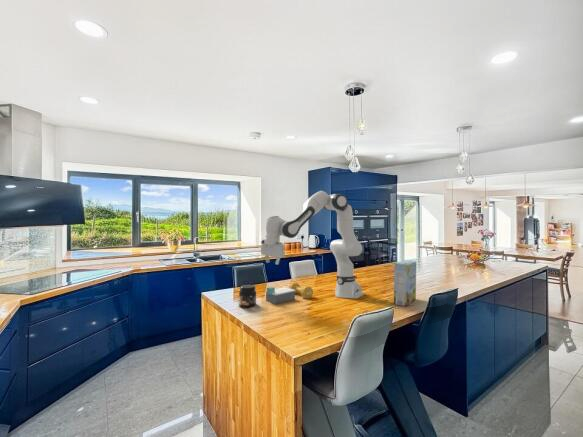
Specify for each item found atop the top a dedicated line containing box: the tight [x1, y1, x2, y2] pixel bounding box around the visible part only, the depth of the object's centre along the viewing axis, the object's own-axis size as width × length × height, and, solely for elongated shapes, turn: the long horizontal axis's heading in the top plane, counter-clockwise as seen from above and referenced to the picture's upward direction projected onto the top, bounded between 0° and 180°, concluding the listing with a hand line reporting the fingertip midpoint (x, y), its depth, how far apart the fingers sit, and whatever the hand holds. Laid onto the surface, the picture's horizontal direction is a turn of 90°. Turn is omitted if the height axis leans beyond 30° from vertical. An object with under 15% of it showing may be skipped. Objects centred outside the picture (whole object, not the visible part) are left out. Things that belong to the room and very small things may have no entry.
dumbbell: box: [288, 281, 314, 299], centre depth 200 cm, size 19×9×8 cm, turn 34°
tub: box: [265, 291, 296, 305], centre depth 188 cm, size 16×10×6 cm, turn 131°
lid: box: [265, 286, 295, 295], centre depth 187 cm, size 18×10×4 cm, turn 131°
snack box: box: [393, 259, 417, 307], centre depth 185 cm, size 22×9×26 cm, turn 143°
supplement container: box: [238, 284, 257, 309], centre depth 177 cm, size 10×10×12 cm
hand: (272, 263), depth 182 cm, fingers open, 8 cm apart
